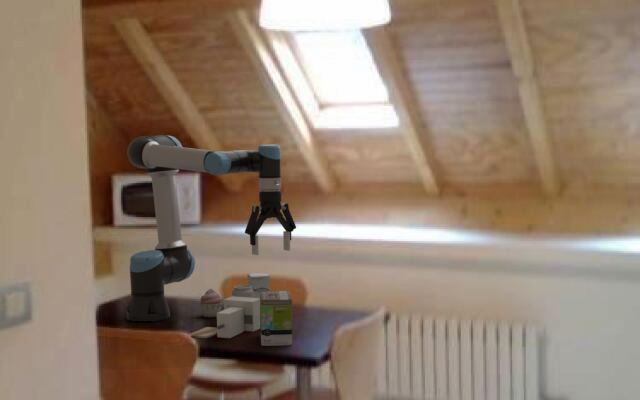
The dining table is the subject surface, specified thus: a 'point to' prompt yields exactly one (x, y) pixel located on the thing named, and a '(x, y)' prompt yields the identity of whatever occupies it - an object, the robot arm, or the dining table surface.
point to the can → (243, 291)
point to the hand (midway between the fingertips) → (271, 252)
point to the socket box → (246, 310)
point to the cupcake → (210, 304)
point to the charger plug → (230, 322)
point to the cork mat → (205, 332)
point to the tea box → (276, 318)
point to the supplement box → (259, 283)
